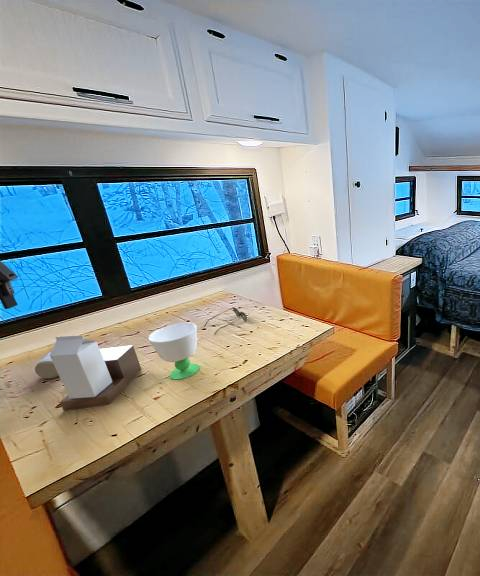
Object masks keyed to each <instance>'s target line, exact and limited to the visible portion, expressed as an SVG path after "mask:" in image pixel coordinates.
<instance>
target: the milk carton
mask: <svg viewBox="0 0 480 576" xmlns="http://www.w3.org/2000/svg"><path fill="white" fill-rule="evenodd" d="M54 338H55V340H56V341H55V343H54V345H53V346H52V349H51V350H50V351H51V354H50V357H51V359H52V362H53V364H54V366H55V368H56V370H57V372H58V374H59V376H58V377H59V379H60V381H61V383H62V386H63V388H64V389H65V391H66V393H67V395H68V396H69V398H70V399H74V398H87V397H95V396H97V395H98V394H99V393H100V392H101V391H103V390H104V389H105V388H106V387H107V386H108V385H110V384H111V383H112V379H111V376H110V374H109V371H108V369H107V366H106V364H105V361H104V359H103V356H102V354H101V351H100V349H101V348H100V346H99V344H98V342H97V340H93V339H90V338H89V339H88V338H86V337H85V338H84V336H83V334H75V335H59V336H55V337H54Z"/></svg>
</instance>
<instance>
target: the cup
mask: <svg viewBox="0 0 480 576" xmlns="http://www.w3.org/2000/svg"><path fill="white" fill-rule="evenodd" d="M148 341H149V343H150V345H151V346H152V347H153V349H154V351H155V352H156V354H157V356H158V357H159V358H160V359H161V360H162V361H164V362H166V363H174V367H175V368H174V369H173V370H172V371H171V372H170V373H169V378H170V379H171V380H177V381H178V380H184V379H187V378H190V377H192V376H194V375H195V374H197V373H198V372H199V371H200V369H201V368H200V365H199V364H198V363H191V360H190V357H192V356H193V355H194V354H195V353H196V351H197V349H198V327H197V324H195V323H193V322H177V323H172V324H169V325H165V326H163V327H160V328H158V329H156V330H154V331H152V333H150V335H148Z"/></svg>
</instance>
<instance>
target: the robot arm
mask: <svg viewBox="0 0 480 576" xmlns="http://www.w3.org/2000/svg"><path fill="white" fill-rule="evenodd" d="M16 279H19V276H18V275H17V274H16V273H15V272H14V271H13V270H11V269H10V268H9V267H8V266H7V265H6V264H5V263H3V262H2V261H1V260H0V302H1V305H2V307H3V309H4V310H9V309H11V308H14V307H17V306H18V305H19V304H18V302H17V300H16V298H15V296H14V295H15V290H14V288H13V286H12V284H11V282H12V281H14V280H16Z"/></svg>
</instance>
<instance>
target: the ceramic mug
mask: <svg viewBox="0 0 480 576" xmlns="http://www.w3.org/2000/svg"><path fill="white" fill-rule="evenodd" d="M51 351H52V350H50V351H49V352H48V353H47V354H46V355H44V357H42V359H40V361H38V362H37V364H36V365H35V367H34V372H35V374H36V375H37V376H38V377H40V378H43V379H55V378H57V377H59V374H58V372H57V370H56V368H55V366H54V364H53V362H52V359H51V357H50V354H51Z"/></svg>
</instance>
